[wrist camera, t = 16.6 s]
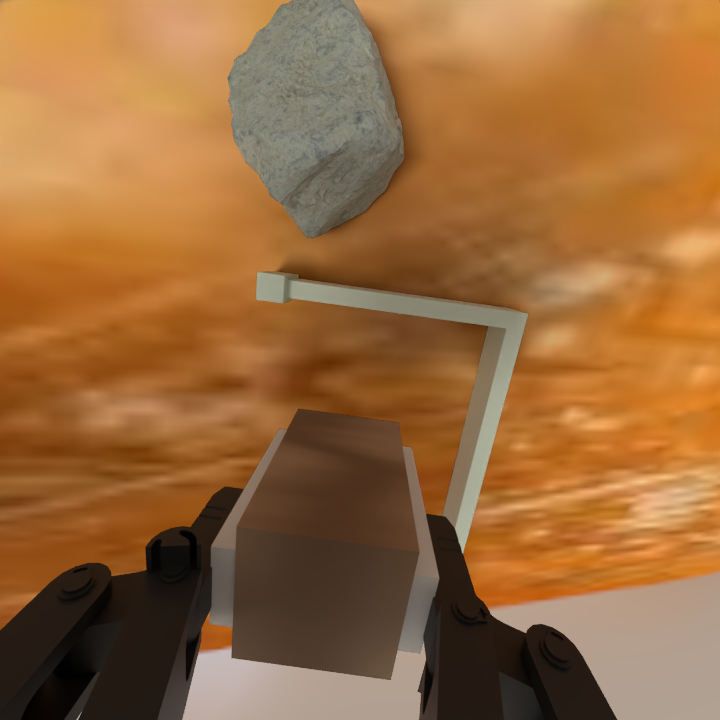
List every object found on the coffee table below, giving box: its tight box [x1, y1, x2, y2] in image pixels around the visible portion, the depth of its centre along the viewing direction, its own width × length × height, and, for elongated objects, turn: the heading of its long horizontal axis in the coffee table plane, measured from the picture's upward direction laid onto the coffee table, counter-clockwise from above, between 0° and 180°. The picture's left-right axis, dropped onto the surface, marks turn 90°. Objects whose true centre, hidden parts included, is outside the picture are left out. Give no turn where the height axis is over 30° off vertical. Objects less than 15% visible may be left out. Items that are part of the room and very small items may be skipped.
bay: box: [256, 271, 528, 553], centre depth 28 cm, size 18×29×4 cm, turn 172°
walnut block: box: [232, 409, 420, 680], centre depth 12 cm, size 4×4×7 cm
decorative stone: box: [228, 0, 404, 238], centre depth 21 cm, size 13×11×10 cm
